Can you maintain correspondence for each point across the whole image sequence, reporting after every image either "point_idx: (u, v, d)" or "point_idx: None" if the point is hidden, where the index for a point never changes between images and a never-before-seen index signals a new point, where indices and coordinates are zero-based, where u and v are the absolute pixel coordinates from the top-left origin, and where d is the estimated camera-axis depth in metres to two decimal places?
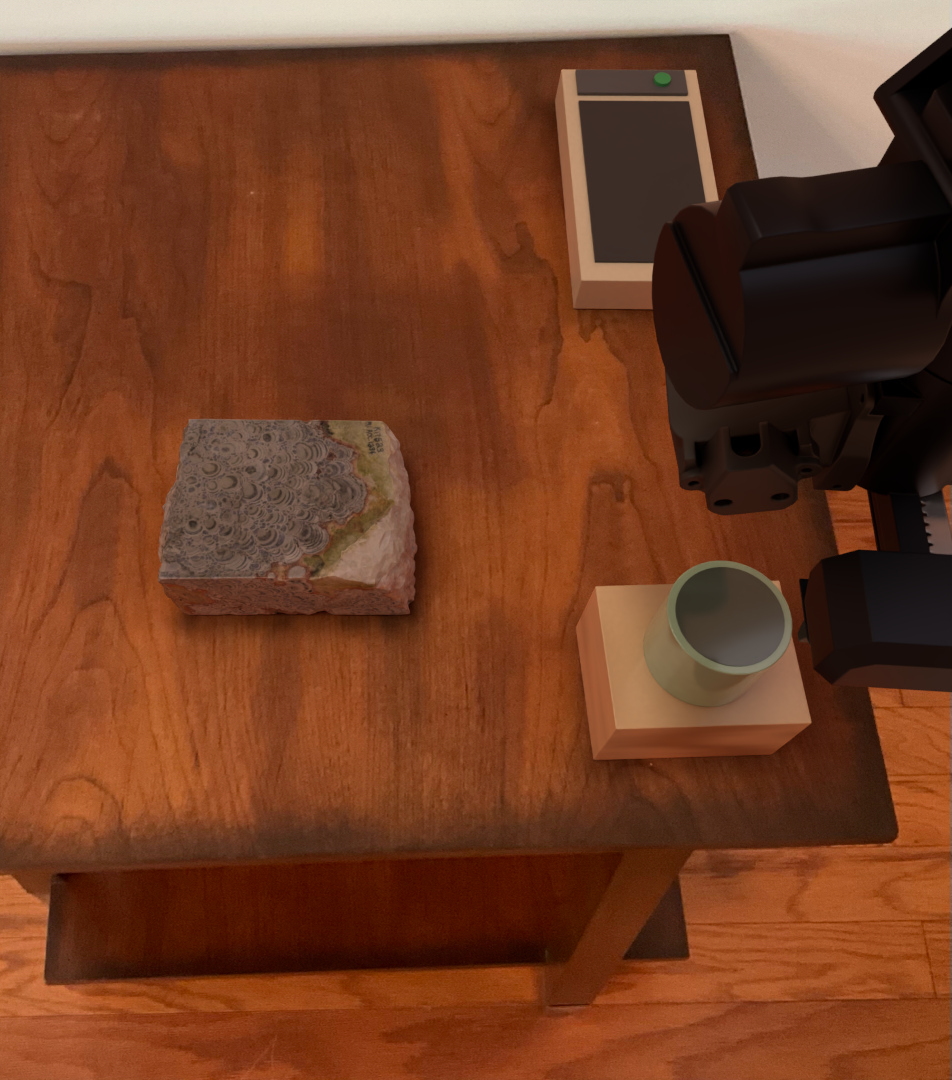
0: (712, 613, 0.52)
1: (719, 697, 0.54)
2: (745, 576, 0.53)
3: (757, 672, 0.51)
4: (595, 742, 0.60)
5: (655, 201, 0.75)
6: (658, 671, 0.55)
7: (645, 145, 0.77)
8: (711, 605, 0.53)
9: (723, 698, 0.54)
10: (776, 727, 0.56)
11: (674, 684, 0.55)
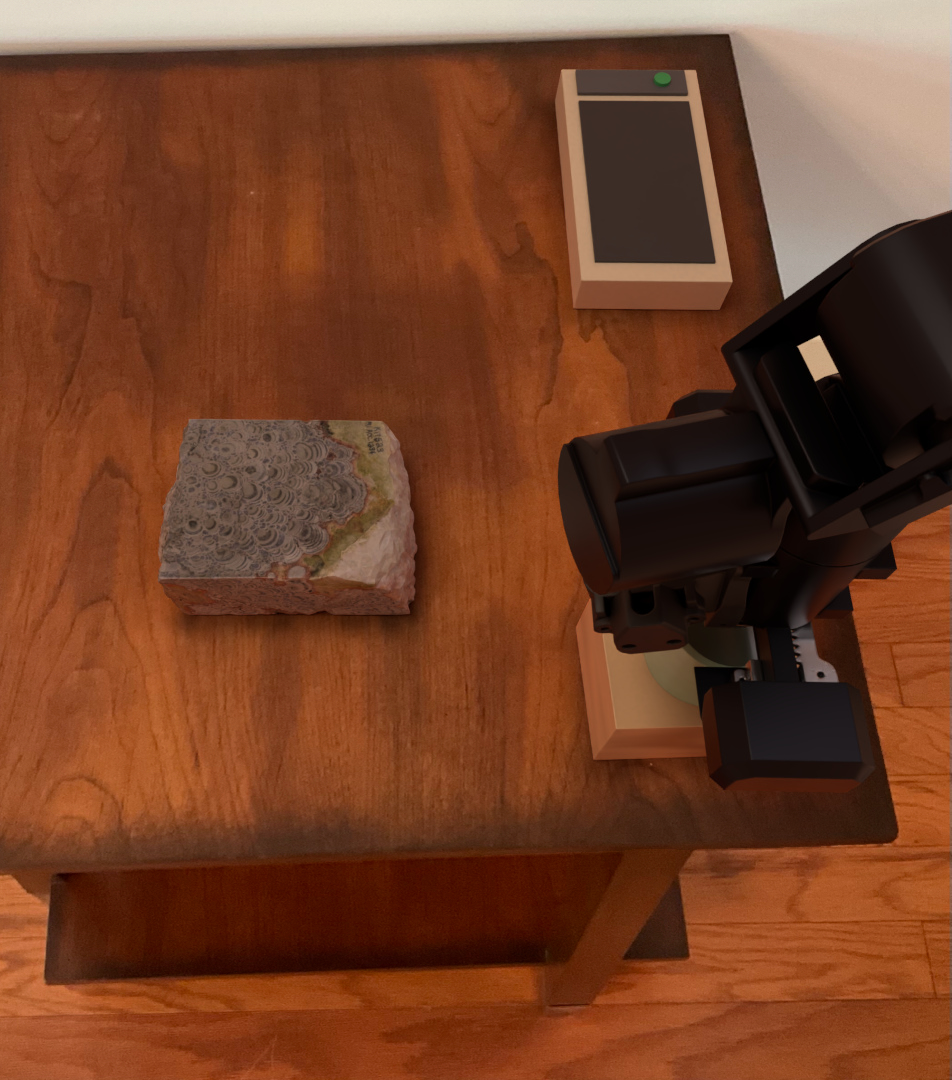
0: None
1: None
2: None
3: None
4: (595, 742, 0.60)
5: (655, 201, 0.75)
6: (658, 671, 0.55)
7: (645, 145, 0.77)
8: None
9: None
10: None
11: (675, 684, 0.55)
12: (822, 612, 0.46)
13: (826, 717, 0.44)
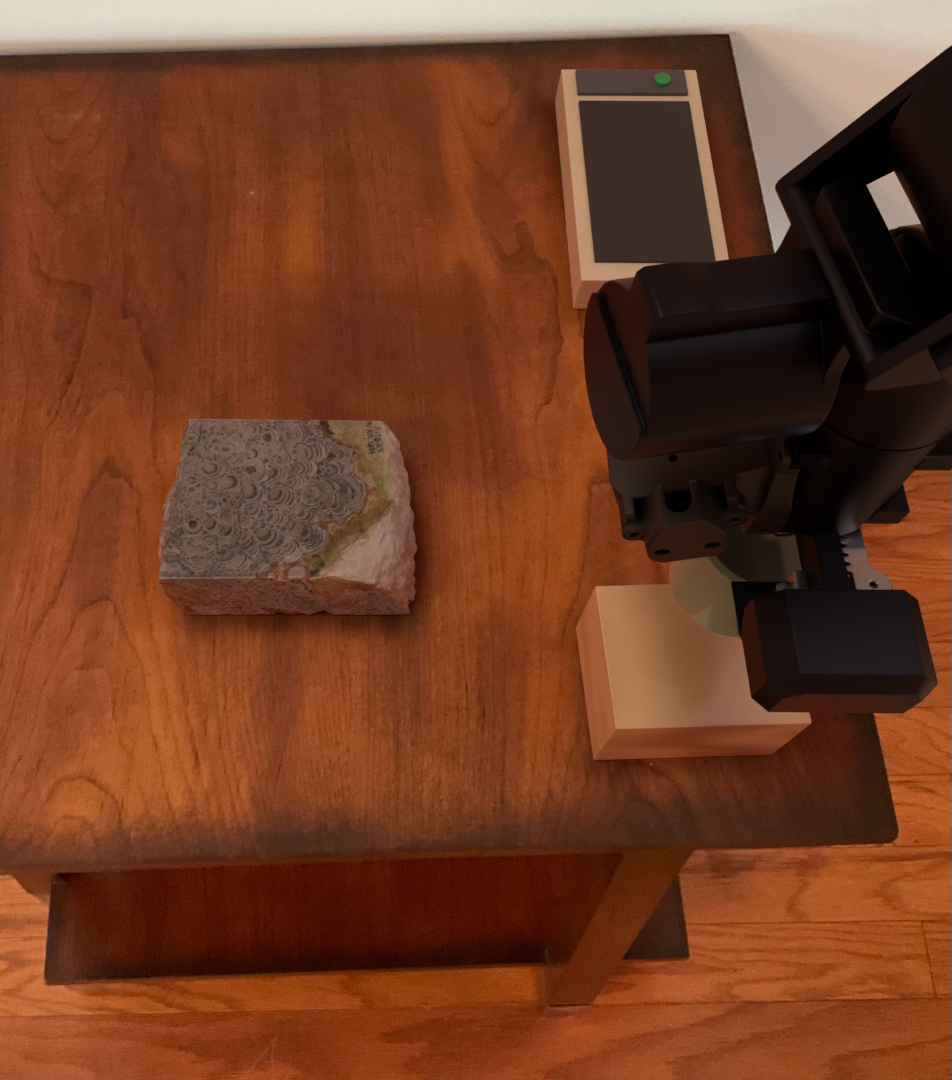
0: None
1: None
2: None
3: None
4: (595, 742, 0.60)
5: (655, 201, 0.75)
6: (686, 598, 0.51)
7: (645, 145, 0.77)
8: None
9: None
10: (776, 727, 0.56)
11: (705, 612, 0.50)
12: (875, 515, 0.41)
13: (883, 627, 0.39)
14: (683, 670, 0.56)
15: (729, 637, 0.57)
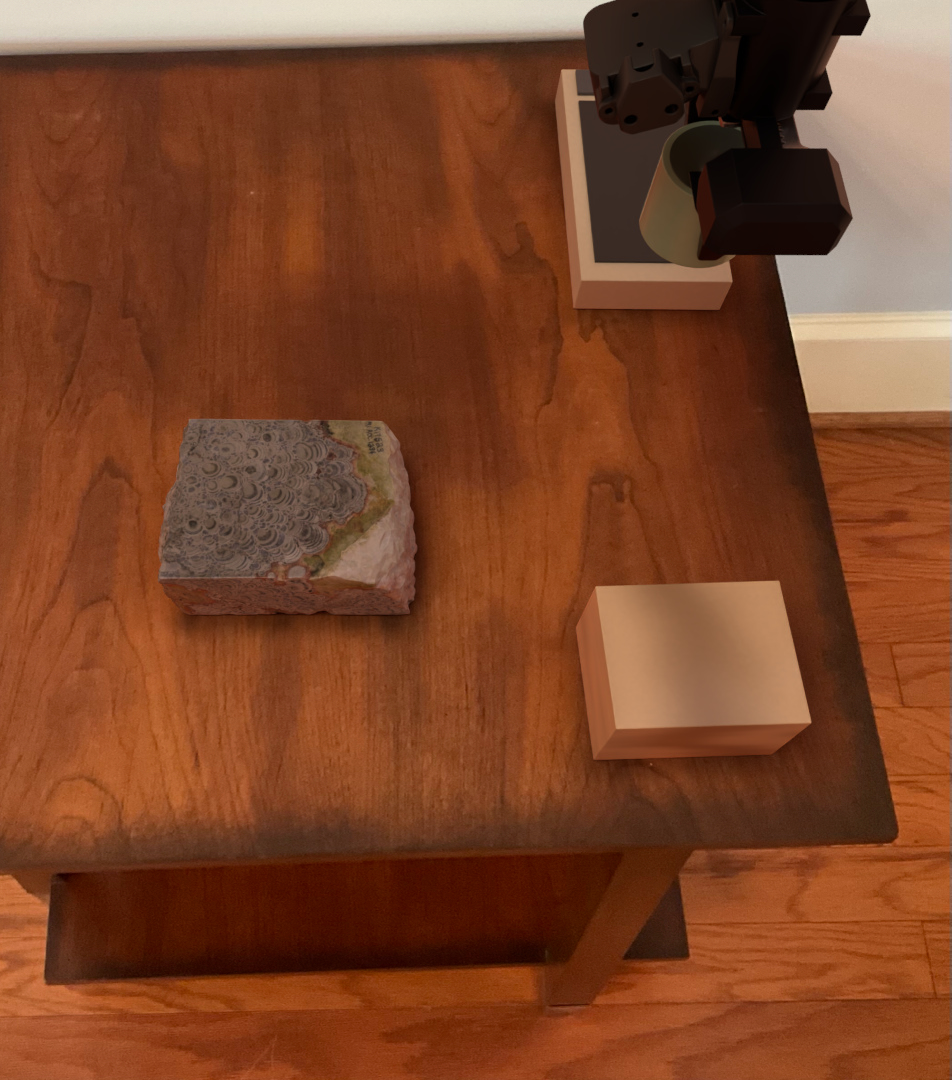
0: (703, 159, 0.57)
1: None
2: (732, 131, 0.58)
3: None
4: (595, 742, 0.60)
5: None
6: (653, 234, 0.60)
7: (645, 145, 0.77)
8: (702, 153, 0.58)
9: None
10: (776, 727, 0.56)
11: (669, 241, 0.60)
12: (805, 98, 0.51)
13: (808, 172, 0.49)
14: (683, 670, 0.56)
15: (729, 637, 0.57)
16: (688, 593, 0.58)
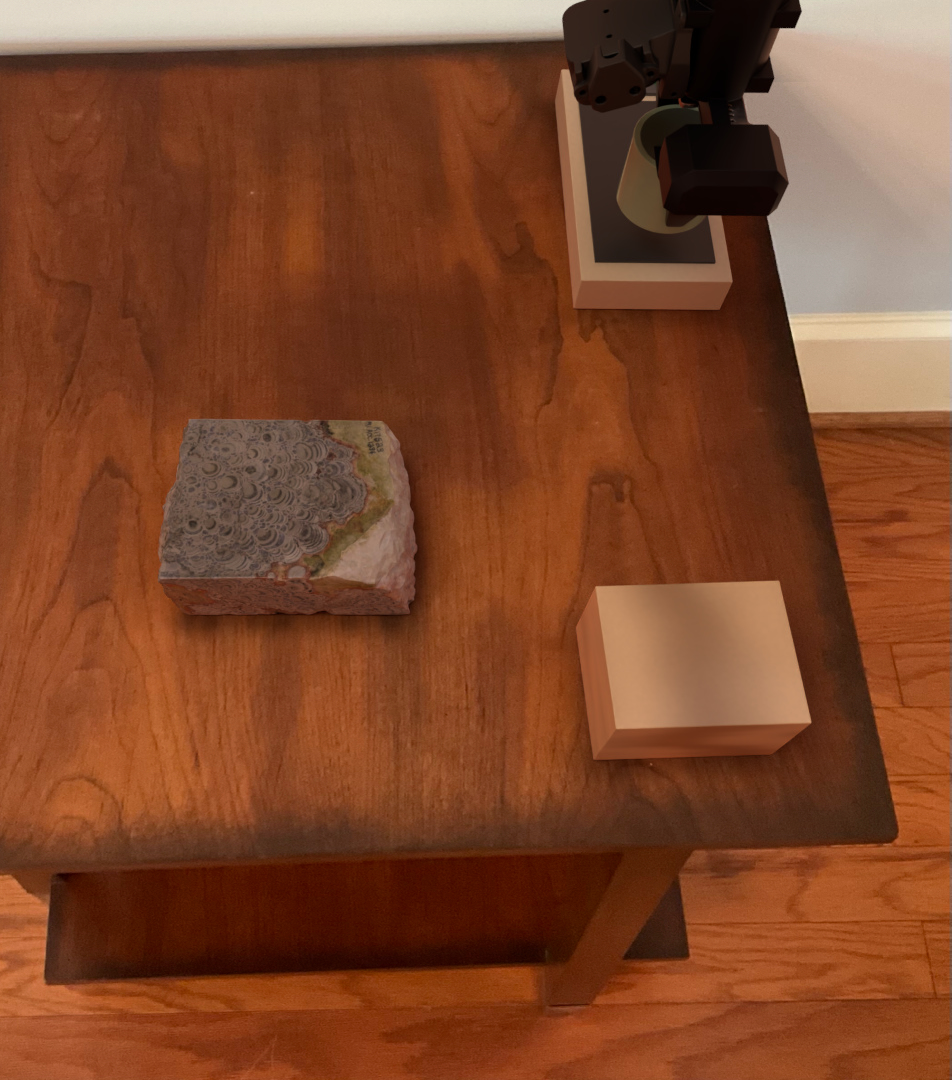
0: None
1: None
2: (696, 113, 0.67)
3: None
4: (595, 742, 0.60)
5: None
6: (628, 204, 0.69)
7: None
8: (669, 132, 0.66)
9: None
10: (776, 727, 0.56)
11: (640, 210, 0.68)
12: (751, 82, 0.59)
13: (751, 144, 0.57)
14: (683, 670, 0.56)
15: (729, 637, 0.57)
16: (688, 593, 0.58)
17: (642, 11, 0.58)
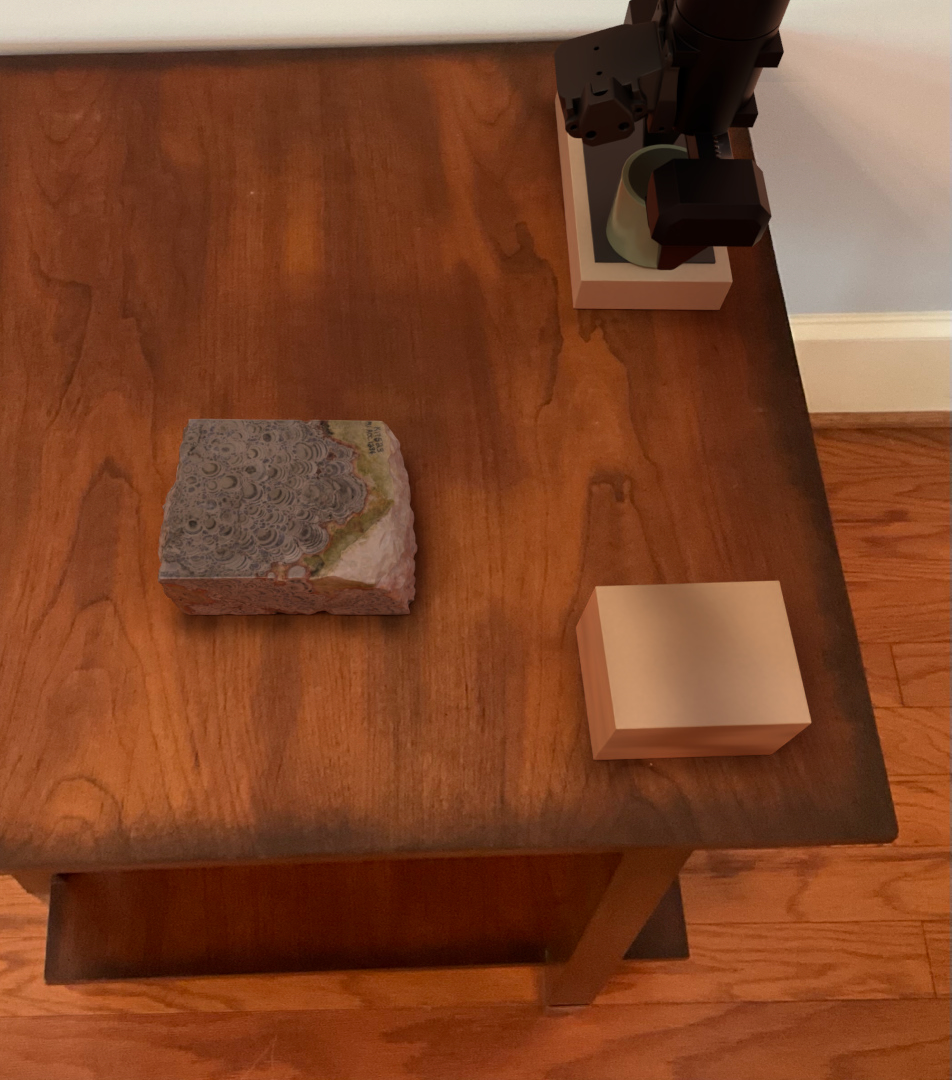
0: None
1: None
2: (682, 153, 0.70)
3: None
4: (595, 742, 0.60)
5: None
6: (616, 239, 0.72)
7: None
8: None
9: None
10: (776, 727, 0.56)
11: (629, 245, 0.71)
12: (736, 118, 0.62)
13: (735, 179, 0.60)
14: (683, 670, 0.56)
15: (729, 637, 0.57)
16: (688, 593, 0.58)
17: (631, 49, 0.61)
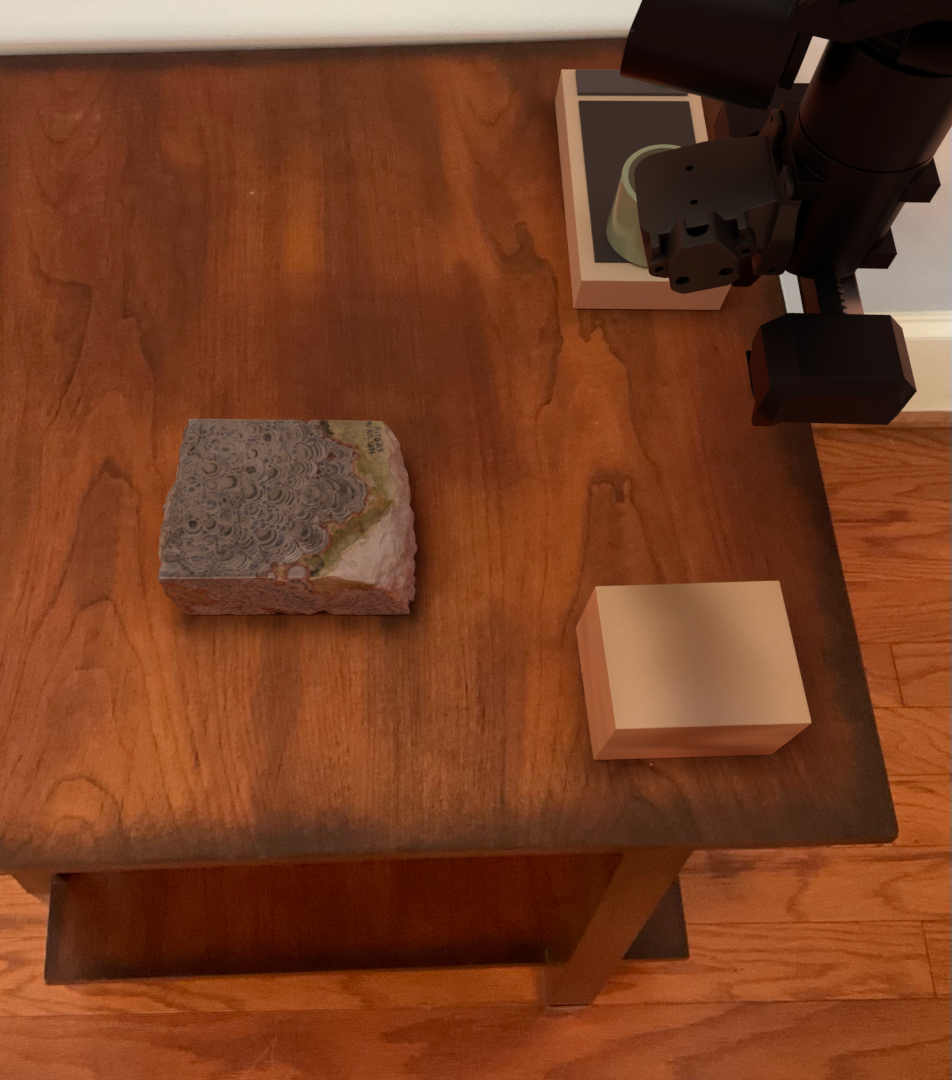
0: None
1: None
2: None
3: None
4: (595, 742, 0.60)
5: None
6: (616, 239, 0.72)
7: (645, 145, 0.77)
8: None
9: None
10: (776, 727, 0.56)
11: (629, 245, 0.71)
12: (867, 258, 0.48)
13: (870, 342, 0.46)
14: (683, 670, 0.56)
15: (729, 637, 0.57)
16: (688, 593, 0.58)
17: (735, 172, 0.47)
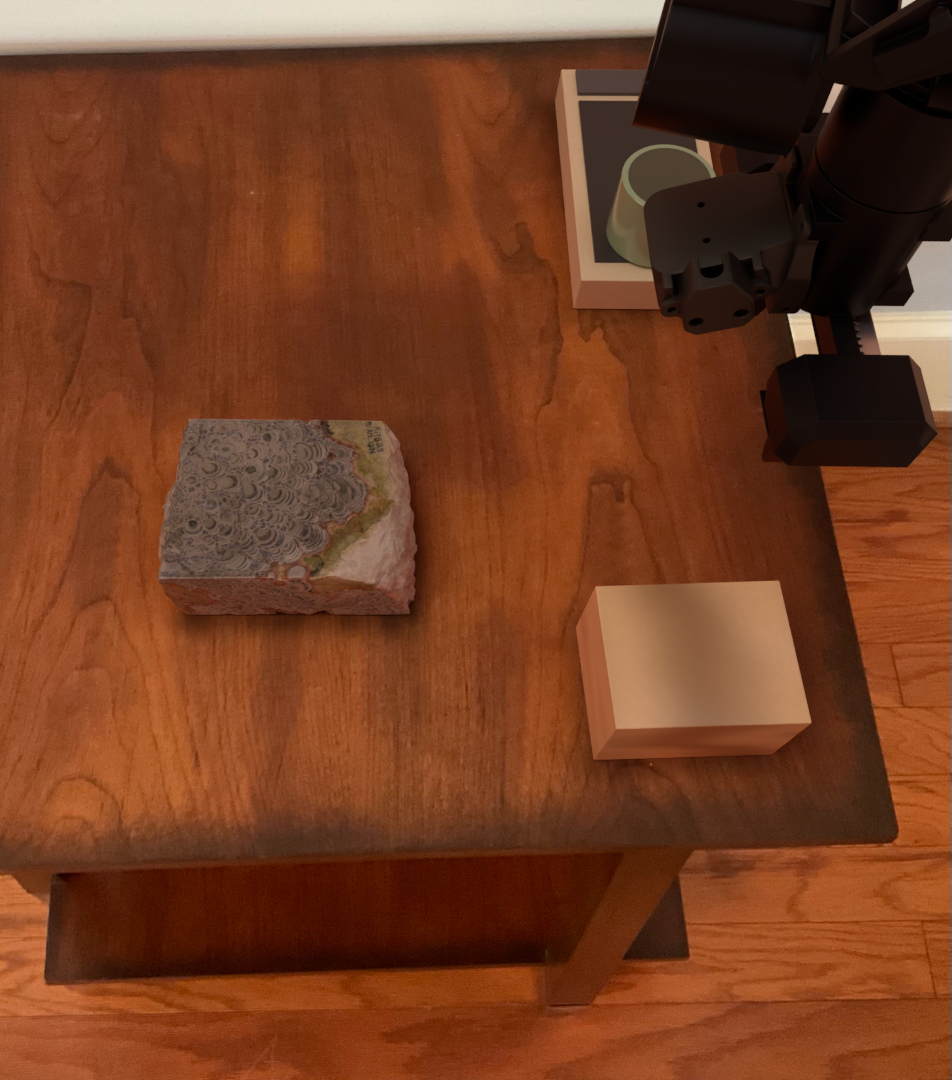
0: (656, 176, 0.69)
1: None
2: (682, 153, 0.70)
3: None
4: (595, 742, 0.60)
5: None
6: (616, 239, 0.72)
7: (645, 145, 0.77)
8: (655, 171, 0.69)
9: None
10: (776, 727, 0.56)
11: (629, 245, 0.71)
12: (884, 296, 0.47)
13: (890, 384, 0.45)
14: (683, 670, 0.56)
15: (729, 637, 0.57)
16: (688, 593, 0.58)
17: (749, 209, 0.46)
